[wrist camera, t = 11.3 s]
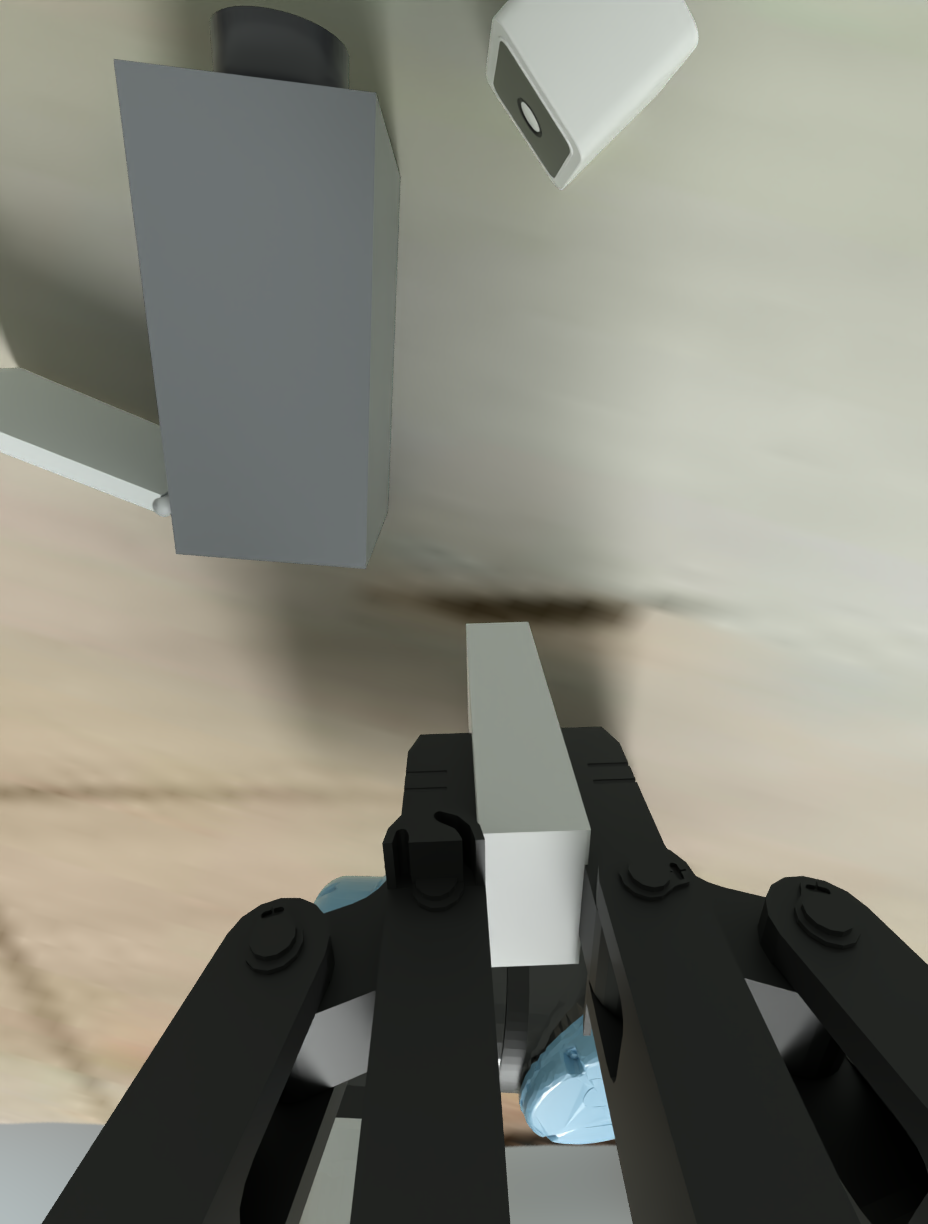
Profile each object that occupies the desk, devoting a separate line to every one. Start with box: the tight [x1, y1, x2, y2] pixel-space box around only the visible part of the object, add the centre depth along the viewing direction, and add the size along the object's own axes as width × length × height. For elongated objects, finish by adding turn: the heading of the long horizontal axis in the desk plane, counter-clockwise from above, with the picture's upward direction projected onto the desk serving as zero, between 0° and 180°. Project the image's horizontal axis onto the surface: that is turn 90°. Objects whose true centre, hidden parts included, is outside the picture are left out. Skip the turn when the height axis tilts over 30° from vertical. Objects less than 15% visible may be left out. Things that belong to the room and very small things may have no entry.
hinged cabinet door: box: [0, 368, 171, 517], centre depth 31 cm, size 15×1×16 cm, turn 66°
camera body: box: [114, 6, 400, 569], centre depth 31 cm, size 23×10×12 cm, turn 175°
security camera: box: [486, 0, 699, 190], centre depth 27 cm, size 6×7×10 cm
